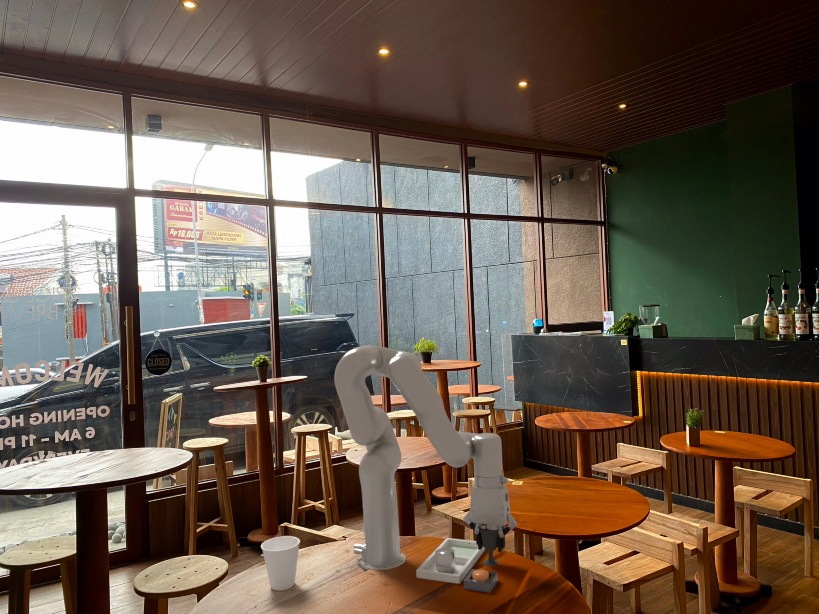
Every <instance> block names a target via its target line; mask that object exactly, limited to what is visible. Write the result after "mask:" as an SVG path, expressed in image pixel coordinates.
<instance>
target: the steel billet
mask: <svg viewBox="0 0 819 614" xmlns="http://www.w3.org/2000/svg"><path fill="white" fill-rule="evenodd" d="M436 549H437V548H436ZM436 549H435V550H436ZM435 550H434V551H435ZM435 558H436V572H442V573H449V574H453V573H454V572H455V554H454V550H453V549H451V548H440V549H437V550H436V551H435Z"/></svg>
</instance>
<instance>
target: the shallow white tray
mask: <svg viewBox="0 0 819 614" xmlns="http://www.w3.org/2000/svg"><path fill="white" fill-rule="evenodd" d="M469 543H470V544H469ZM440 548H451V549H453V550H454V554H455V572H454V573H453V574H449V573H442V572H436V558H435V551H436V550H437V549H440ZM485 551H486V549H485V548H484V547H483V548H482V549H481V550H478V545H477V544H476V540H469V539H467V540H466V539H459V538H449V537H446V538H445V539H444V540H443V541H442V542H441V544H439V545H438V547H436V549H435V550H434V551H433V552H432V553H431V554H430V555H429V556H428V557H427V558H426V559H425V560H424V561H423V562H422V563H421V565H420V566H419V567H418V568H417V569H416V570H415V572H416V573H415V575H416V576H415V577H416V579H417V578H418V579H425V580H429V581H430V580H431V581H436V582H437V581H438V582H443V583H451V584H458V585H460V584H461V583H462V581H464V579H465V578H466V576H467V575H468V574H469V572H470V571H471V570H472V569H473V567H474V565H475V564H476V563H477V561H478V560H479V558H480V557H481V556H482V555H483V553H484V552H485Z"/></svg>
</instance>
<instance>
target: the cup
mask: <svg viewBox="0 0 819 614" xmlns="http://www.w3.org/2000/svg"><path fill="white" fill-rule="evenodd" d="M300 543H301V540H300V538H298V537H296V536H291V535H283V536H277V537H273V538H269V539H267V540H265V541H264V542H262V543H261V545H260V548H261V550H262V554H263V559H264V562H265V566H266V567H265V568H266V572H267V576H268V582H269V586H270V588H271V589H272V590H273V591H277V592H282V591H286V590H289V589H292V587H293V586H294V585H295V582H296V575H297V566H298V556H299V548H300Z"/></svg>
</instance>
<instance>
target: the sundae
mask: <svg viewBox="0 0 819 614" xmlns="http://www.w3.org/2000/svg"><path fill="white" fill-rule="evenodd" d="M477 527H478V526H477ZM502 527H503V526H502ZM478 529H479V530H480V531H481V537H482V543H483V547H484V548H485V551H487V552H488V559H486V560H483V562H482V564H483V565H484V566H486V567H494V566H497V565H499V561H498V560H496V559H494V551H496V550H497V549H498V540H497V538H498V536H499V533H498V531H500V530H498V528H497V526H495V525H489V524H487V525H486V524H481V526H480V527H478Z"/></svg>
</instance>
